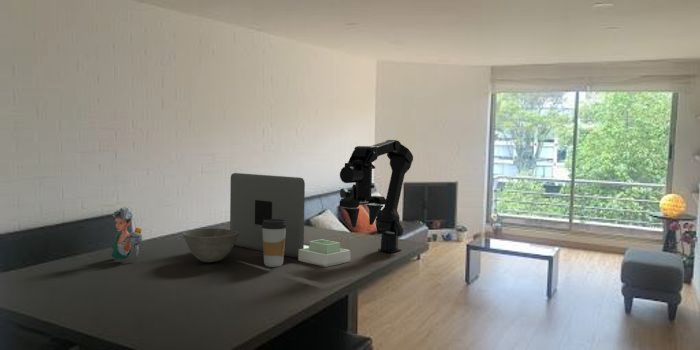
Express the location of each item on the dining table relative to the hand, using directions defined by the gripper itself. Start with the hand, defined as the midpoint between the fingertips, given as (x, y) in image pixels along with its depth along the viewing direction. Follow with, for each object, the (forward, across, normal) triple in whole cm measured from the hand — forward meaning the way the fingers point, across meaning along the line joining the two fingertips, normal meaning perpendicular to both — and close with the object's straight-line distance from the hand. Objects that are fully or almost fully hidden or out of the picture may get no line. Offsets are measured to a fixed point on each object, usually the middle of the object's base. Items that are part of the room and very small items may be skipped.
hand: (362, 226), depth 190 cm
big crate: (+12, +10, -9) cm, 18 cm away
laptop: (+13, +3, -36) cm, 38 cm away
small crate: (+12, +10, -9) cm, 18 cm away
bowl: (+13, +39, -35) cm, 54 cm away
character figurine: (+13, +60, -57) cm, 84 cm away
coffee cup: (+13, +27, -16) cm, 34 cm away
